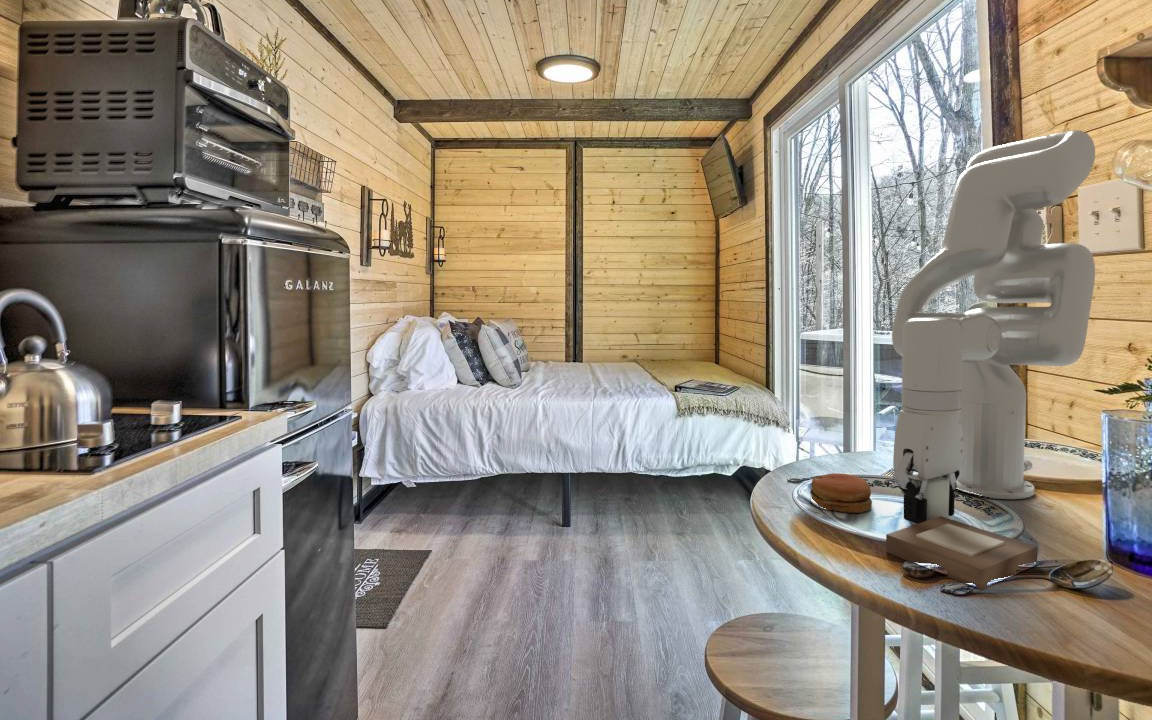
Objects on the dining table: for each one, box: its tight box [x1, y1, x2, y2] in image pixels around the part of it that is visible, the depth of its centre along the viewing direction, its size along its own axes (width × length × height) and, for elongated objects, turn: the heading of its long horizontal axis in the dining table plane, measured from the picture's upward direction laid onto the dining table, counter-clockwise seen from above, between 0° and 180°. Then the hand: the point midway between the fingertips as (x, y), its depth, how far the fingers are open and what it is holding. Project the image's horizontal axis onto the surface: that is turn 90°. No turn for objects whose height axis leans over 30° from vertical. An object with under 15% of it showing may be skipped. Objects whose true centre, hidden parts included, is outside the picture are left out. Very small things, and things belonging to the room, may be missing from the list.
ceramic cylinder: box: [909, 473, 950, 526], centre depth 85 cm, size 5×5×7 cm
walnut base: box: [885, 516, 1038, 591], centre depth 74 cm, size 12×12×3 cm
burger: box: [809, 472, 873, 514], centre depth 95 cm, size 10×9×5 cm
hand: (928, 516), depth 86 cm, fingers open, 5 cm apart
